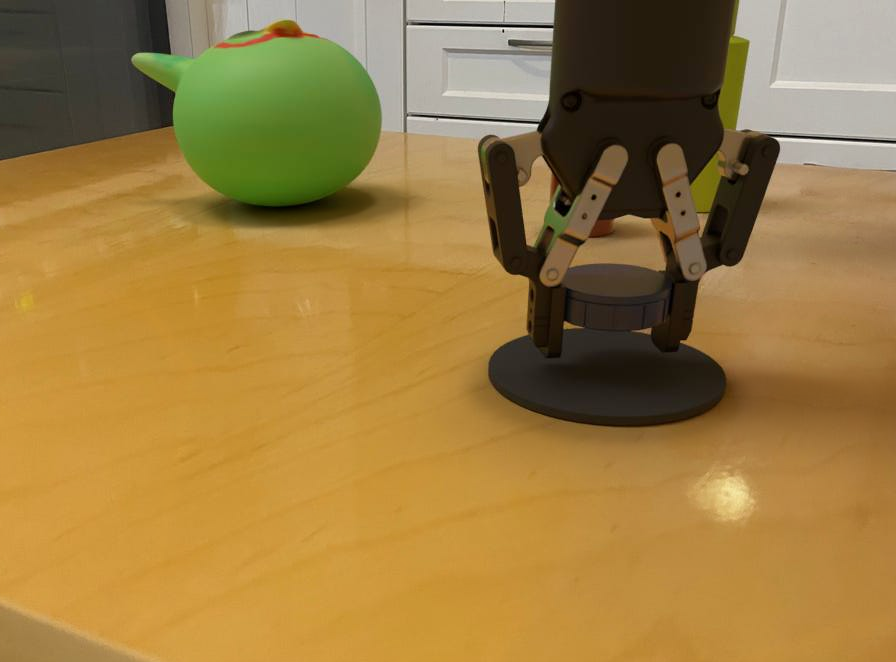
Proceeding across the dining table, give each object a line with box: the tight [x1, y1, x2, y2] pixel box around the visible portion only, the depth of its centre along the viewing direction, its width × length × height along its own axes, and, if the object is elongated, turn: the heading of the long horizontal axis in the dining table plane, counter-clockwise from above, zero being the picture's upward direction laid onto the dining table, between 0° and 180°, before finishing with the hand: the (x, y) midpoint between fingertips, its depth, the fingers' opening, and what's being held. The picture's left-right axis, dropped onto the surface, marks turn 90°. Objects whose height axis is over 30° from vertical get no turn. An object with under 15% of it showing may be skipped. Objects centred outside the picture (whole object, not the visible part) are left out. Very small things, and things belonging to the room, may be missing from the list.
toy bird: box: [131, 18, 383, 207], centre depth 80 cm, size 18×17×15 cm
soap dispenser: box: [690, 0, 751, 213], centre depth 78 cm, size 6×7×20 cm
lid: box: [562, 262, 672, 332], centre depth 46 cm, size 6×6×2 cm
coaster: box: [487, 327, 727, 427], centre depth 48 cm, size 12×12×1 cm
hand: (607, 348), depth 48 cm, fingers closed on lid, 5 cm apart
